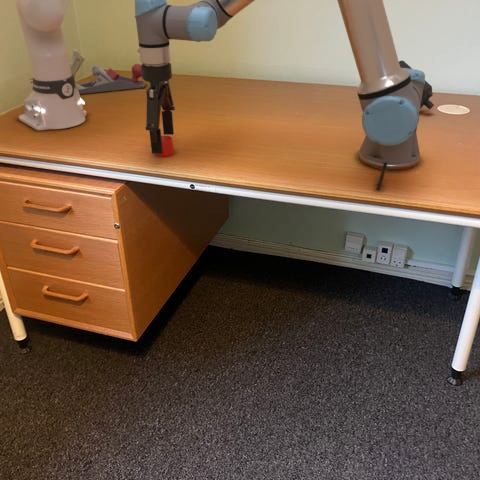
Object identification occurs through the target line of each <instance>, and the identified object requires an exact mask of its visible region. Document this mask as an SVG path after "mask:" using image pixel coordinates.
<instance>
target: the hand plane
mask: <svg viewBox="0 0 480 480" xmlns="http://www.w3.org/2000/svg"><path fill="white" fill-rule="evenodd" d="M85 59H86V58H85V56H84V55H83V54H82V53H81V52H80V51H79V50H77V49H76V48H73V50H72V58H71V62H70V66H71V72H72V74H73V75H74V79H75V78H76V74H77V72H78V71H79V69H80V68H81V66H82V65H83V63H84V61H85ZM141 65H142V64H139V63H134V64H133V65H132V66H131V73H132V76H131V78H130V77H126V76H123V75H120V74H119V73H117V72H116V71H114V70H113V69H112V68H111V67H109V68H108V70H107V71H105V70H104V69H103V68H102V67H100V65H94V66H92V68H91V70H90V72H91V75H93V76H94V77H97V78H95V79H90V81H89V82H86V83H80V84H78V83H77V82H76V81H75V85H76V87H75V89H77V90H78V91H79V95H84V94H94V93H104V92H112V91H113V92H114V91H121V90H132V89H142V88H146V83H145V81H144V80H139V78H142V72H141Z"/></svg>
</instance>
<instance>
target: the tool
mask: <svg viewBox="0 0 480 480" xmlns="http://www.w3.org/2000/svg"><path fill="white" fill-rule="evenodd" d="M398 61H399V65H400V67H401V68H409V69H413V68H412V67H411V66H410V65H409V64H408V63H406V61H404V60H398ZM433 95H434V94H433V85H431V84H430V83H429V82H428V81H427V80H425V85H424V88H423V94H422V100H421V106H420V110H421V109H422V108H423V107H426V108H427V109H428V110H430V111H431V109H433V107H434V106H435V104H434V103H433V102H432V101H431V100H430V98H432V97H433Z"/></svg>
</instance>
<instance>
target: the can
mask: <svg viewBox="0 0 480 480" xmlns="http://www.w3.org/2000/svg"><path fill="white" fill-rule="evenodd" d="M161 140H162V151H163V153H162V154H156V155H157V156H159V157H169V156H172V155H173V154H174V144H173V137H172V136H171V135H161Z"/></svg>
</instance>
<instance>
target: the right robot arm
mask: <svg viewBox="0 0 480 480" xmlns="http://www.w3.org/2000/svg"><path fill="white" fill-rule="evenodd" d="M255 1H256V0H199V1H196V2H194V3H192V4H189V5H171V4H168V2H167V0H134V19H135V23H136V24H135V25H136V31H137V40H138V48H137V49H136V52H137V53H139V61H140V63H142V64H140V65H141V72H142V76H141V79H142V81H144V82H147V83H149V87H148V89H147V88H146V91H145V93H146V123H145V124H146V125H145V131H149V140H150V148H151V154H155V155H157V154H162V153H163V151H162V140H161V136H162V132H161V130H163V136H173V135H174V134H175V133H174V122H173V121H174V119H173V118H174V117H173V111H175V110H176V106H174V100H173V95H172V91H171V87H170V86H171V85H170V80H171V79H172V77H173V73H172V71H173V70H172V63H171V61H172V57H171V45H170V40H175V41H189V42H195V43H201V42H211V41H213V40H214V39H215V36H216V35H217V32H218V29H221V28H222V27H225V25H226V24H227V23H228V22H229V21H230V20H231V19H233V18H234V17H235V16H236V15H238V14H239V13H240V12H241V11H243V10H245V9H246V8H247V7H248V6H249V5H251V4H253V2H255ZM336 1H337V4H338V8H339V11H340V14H341V18H342V21H343V25H344V29H345V31H346V35H347V39H348V42H349V45H350V49H351V53H352V55H353V59H354V62H355V65H356V69H357V72H358V75H359V80H360V84H359V85H358V87H357V89H356V93H357V97H358V100H359V104H360V107H361V111H362V114H361V125H362V129H363V132H364V134H365V135H364V136H365V137H364V138H363V141H362V143H361V145H360V147H359V151H358V159H359V160H360V162H362V163H363V164H364V165H367V166H369V167H372V168H374V169H378V170H381V173H380V177H379V180H378V183H377V187H376V191H377V190H378V191H379V190H380V189H381V187H382V183H383V180H384V177H385V172H386V171H403V170H408V169H412V168H414V167H416V166H418V164H419V163H420V158H421V153H420V151H421V150H420V146H419V140H418V135H417V130H418V125H419V121H420V111H421V109H420V106H421V100H422V94H423V88H424V85H425V81H426V73H425V72H423V71H422V70H420V69H417V68H415V69H414V68H412V69H409V68H401V67H400V65H399V61H400V60H399V58H398V53H397V50H396V45H395V42H394V39H393V35H392V31H391V27H390V24H389V19H388V16H387V12H386V11H387V10H386V7H385V4H384V0H336ZM161 109H162V111H161ZM161 119H162V120H161ZM160 121H162V129H161V128H160Z"/></svg>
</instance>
